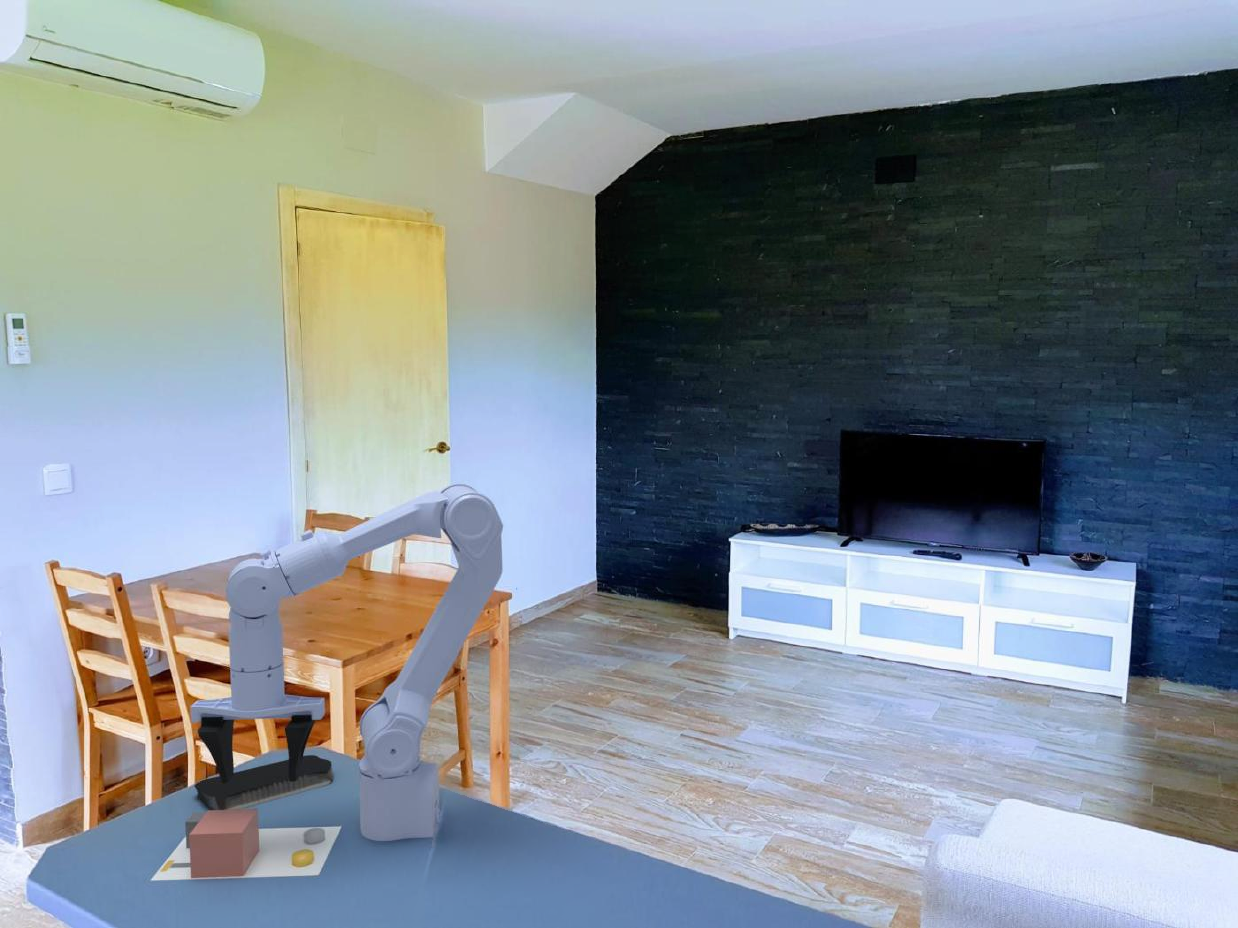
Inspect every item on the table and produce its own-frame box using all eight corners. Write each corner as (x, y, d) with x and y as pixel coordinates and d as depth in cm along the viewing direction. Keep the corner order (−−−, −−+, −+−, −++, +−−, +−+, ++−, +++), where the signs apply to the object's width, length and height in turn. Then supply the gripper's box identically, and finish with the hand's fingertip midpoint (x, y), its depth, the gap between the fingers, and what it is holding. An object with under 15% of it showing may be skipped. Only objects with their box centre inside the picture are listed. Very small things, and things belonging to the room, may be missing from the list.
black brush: (211, 828, 115) (210, 800, 115) (194, 803, 122) (193, 776, 122) (339, 793, 125) (338, 767, 125) (316, 771, 132) (316, 747, 132)
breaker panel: (341, 835, 113) (340, 801, 113) (318, 885, 102) (317, 847, 102) (190, 840, 112) (188, 805, 111) (150, 890, 101) (148, 852, 100)
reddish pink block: (259, 849, 107) (257, 808, 107) (243, 875, 102) (241, 832, 101) (209, 851, 107) (207, 810, 106) (191, 877, 101) (189, 834, 101)
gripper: (329, 653, 110) (333, 762, 112) (205, 655, 109) (209, 765, 111) (314, 672, 103) (318, 788, 105) (181, 674, 102) (186, 792, 104)
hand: (261, 778), depth 107 cm, fingers open, 7 cm apart
